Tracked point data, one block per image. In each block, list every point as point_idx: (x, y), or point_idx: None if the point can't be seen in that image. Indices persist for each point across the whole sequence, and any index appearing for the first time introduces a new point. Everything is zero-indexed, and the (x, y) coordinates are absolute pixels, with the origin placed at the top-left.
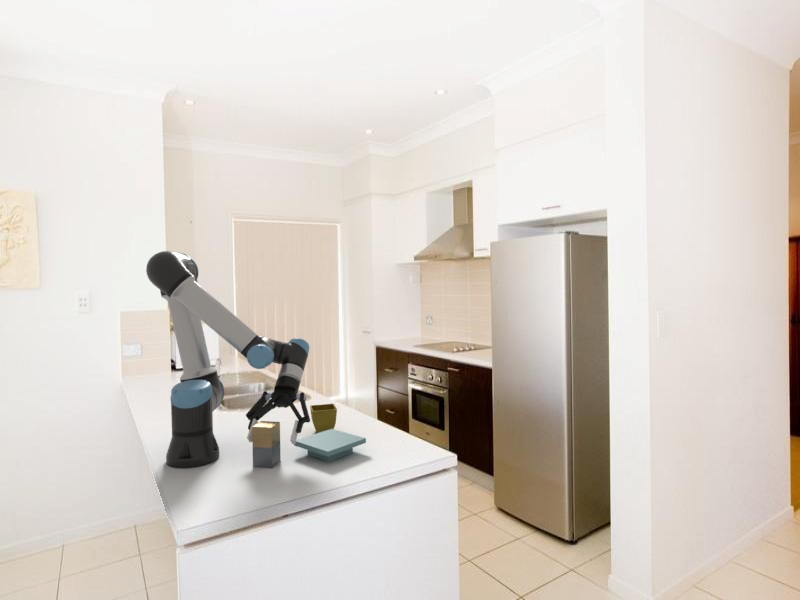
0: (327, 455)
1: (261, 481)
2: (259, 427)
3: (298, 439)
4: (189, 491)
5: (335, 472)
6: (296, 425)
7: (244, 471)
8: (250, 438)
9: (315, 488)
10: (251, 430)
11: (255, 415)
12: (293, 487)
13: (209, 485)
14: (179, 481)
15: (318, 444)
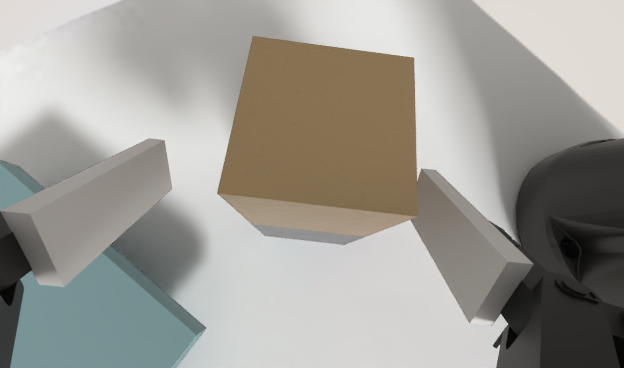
0: (16, 166)
1: None
2: (352, 51)
3: (167, 363)
4: (439, 16)
5: (36, 130)
6: (60, 184)
7: None
8: (419, 186)
9: (110, 26)
10: (445, 191)
11: (556, 303)
12: (175, 31)
13: (411, 44)
14: (506, 66)
15: None
